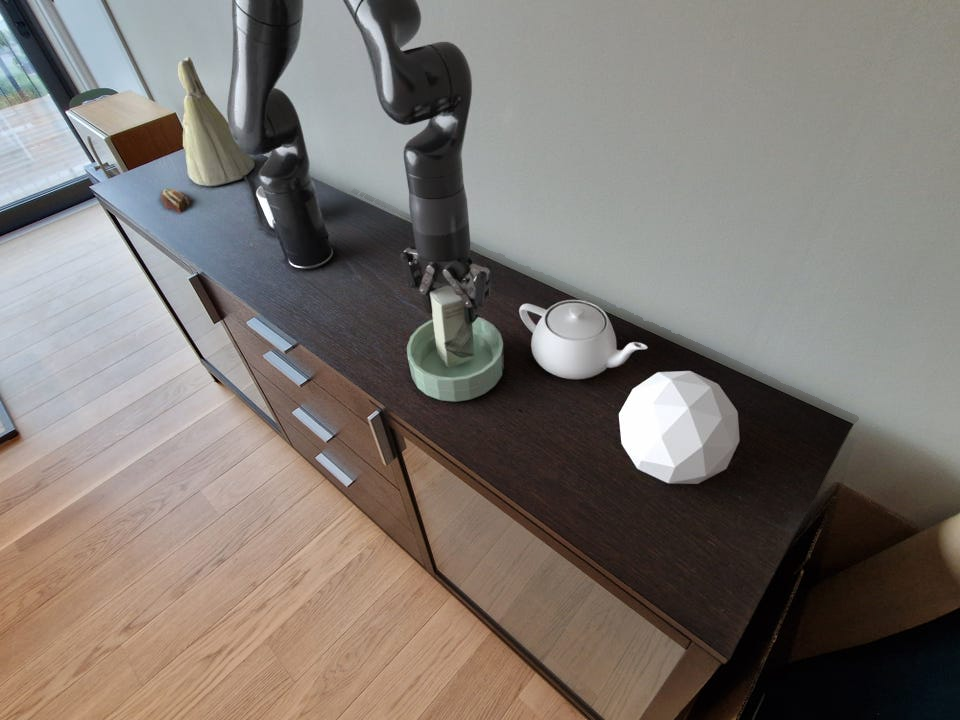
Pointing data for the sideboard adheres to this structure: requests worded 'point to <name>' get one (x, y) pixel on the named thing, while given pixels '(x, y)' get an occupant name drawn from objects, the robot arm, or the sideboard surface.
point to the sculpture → (208, 136)
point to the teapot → (575, 339)
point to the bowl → (460, 378)
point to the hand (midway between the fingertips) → (451, 315)
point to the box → (451, 327)
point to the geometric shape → (679, 427)
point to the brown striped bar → (175, 200)
